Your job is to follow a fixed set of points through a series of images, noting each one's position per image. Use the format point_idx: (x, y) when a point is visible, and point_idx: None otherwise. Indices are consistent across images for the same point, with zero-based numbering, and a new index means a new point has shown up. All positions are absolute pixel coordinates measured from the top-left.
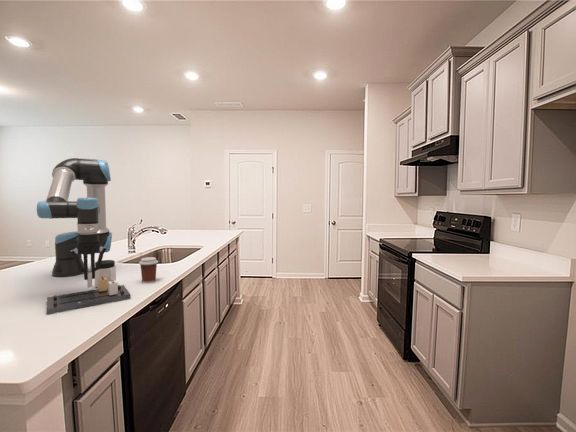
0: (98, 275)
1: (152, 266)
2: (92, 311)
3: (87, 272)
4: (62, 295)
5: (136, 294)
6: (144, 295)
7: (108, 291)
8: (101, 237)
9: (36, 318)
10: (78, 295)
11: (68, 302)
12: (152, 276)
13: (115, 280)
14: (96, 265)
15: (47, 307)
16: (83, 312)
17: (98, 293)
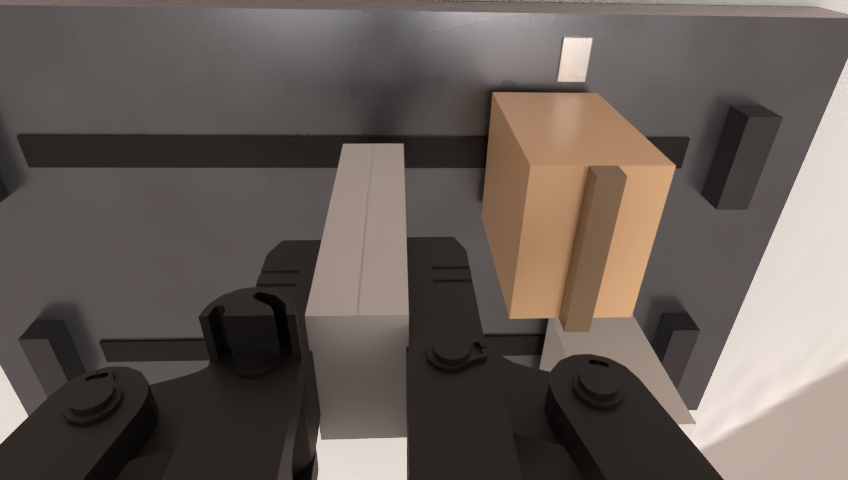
0: None
1: None
2: (372, 467)
3: (315, 414)
4: (22, 51)
5: (778, 299)
6: (804, 358)
7: (552, 343)
8: None
9: (10, 417)
10: (244, 181)
11: (178, 361)
12: None
13: (689, 426)
14: (587, 471)
15: (19, 387)
16: (317, 458)
17: (463, 235)
